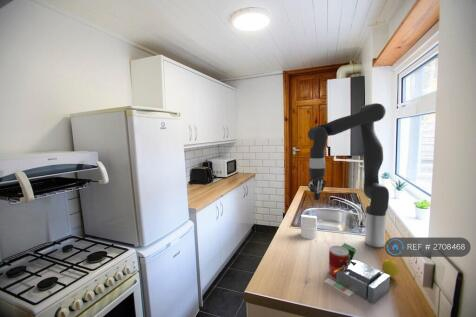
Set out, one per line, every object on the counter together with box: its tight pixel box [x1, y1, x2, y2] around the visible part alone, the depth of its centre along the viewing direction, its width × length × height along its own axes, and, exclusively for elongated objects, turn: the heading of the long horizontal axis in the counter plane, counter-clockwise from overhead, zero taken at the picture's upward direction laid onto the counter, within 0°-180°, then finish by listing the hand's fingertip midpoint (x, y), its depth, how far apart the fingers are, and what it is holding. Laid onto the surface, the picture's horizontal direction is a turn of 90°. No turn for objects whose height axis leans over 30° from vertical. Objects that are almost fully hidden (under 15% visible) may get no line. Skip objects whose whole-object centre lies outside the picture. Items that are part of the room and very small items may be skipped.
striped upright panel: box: [323, 277, 355, 297], centre depth 92 cm, size 3×11×1 cm, turn 34°
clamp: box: [340, 242, 357, 261], centre depth 111 cm, size 12×6×9 cm, turn 126°
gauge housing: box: [335, 259, 391, 305], centre depth 92 cm, size 12×14×8 cm
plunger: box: [334, 262, 353, 273], centre depth 92 cm, size 14×8×7 cm, turn 124°
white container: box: [300, 214, 318, 240], centre depth 138 cm, size 9×9×12 cm
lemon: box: [381, 258, 399, 278], centre depth 97 cm, size 6×6×8 cm
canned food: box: [328, 245, 350, 279], centre depth 100 cm, size 8×8×11 cm
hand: (316, 199), depth 119 cm, fingers closed
